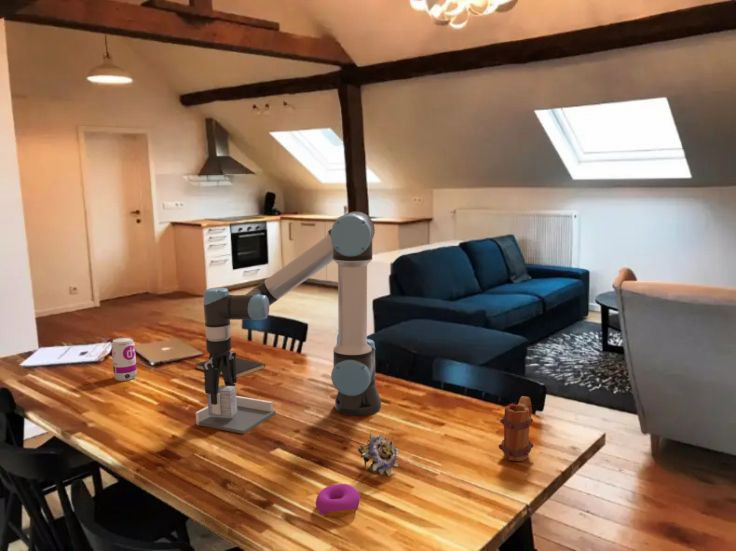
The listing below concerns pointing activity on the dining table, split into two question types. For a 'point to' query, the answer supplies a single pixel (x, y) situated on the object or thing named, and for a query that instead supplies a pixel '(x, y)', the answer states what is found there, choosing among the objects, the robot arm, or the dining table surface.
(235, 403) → the medicine box
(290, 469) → the dining table surface
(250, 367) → the hardcover book
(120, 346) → the supplement can
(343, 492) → the donut
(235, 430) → the tray
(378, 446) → the passion flower
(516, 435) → the mug
